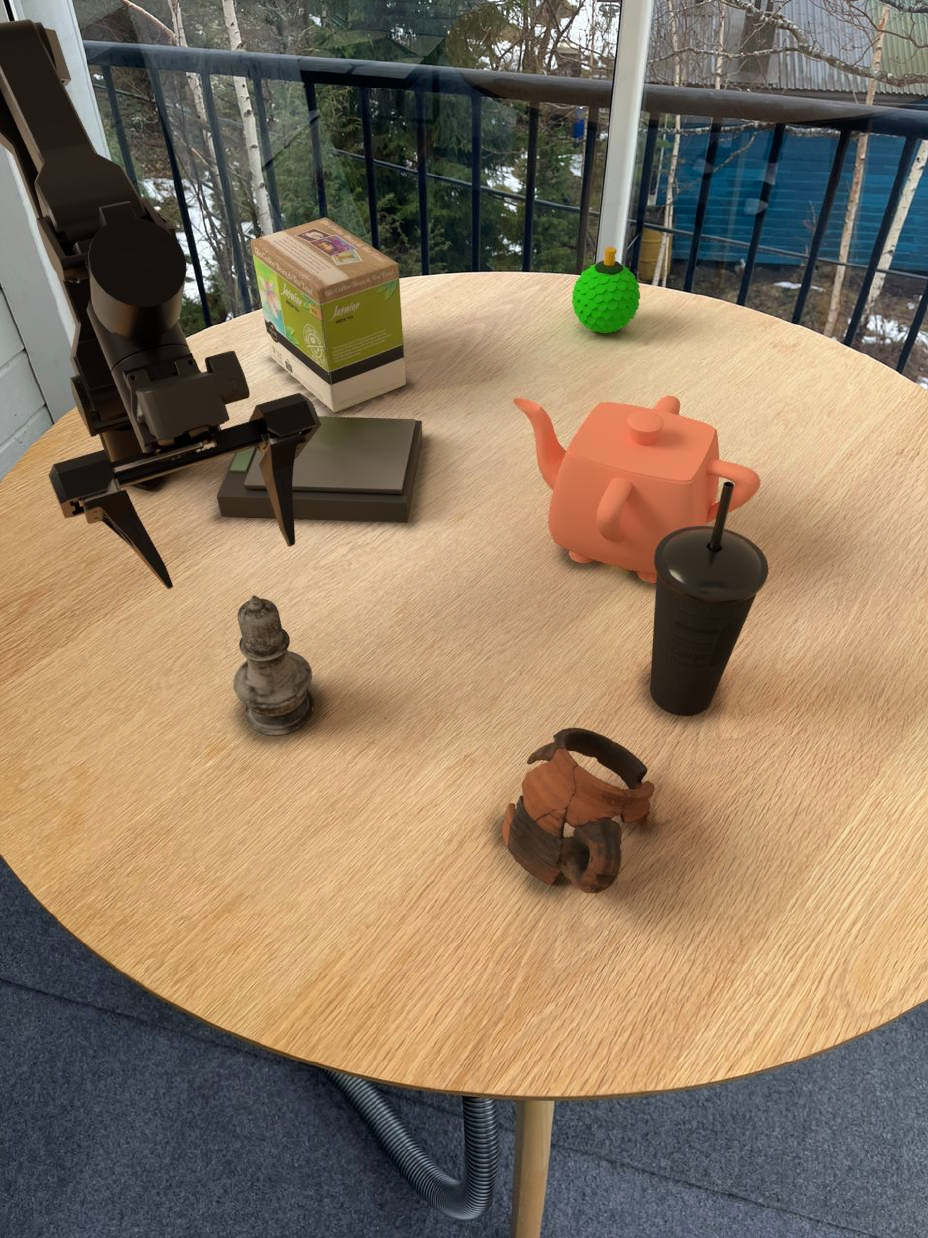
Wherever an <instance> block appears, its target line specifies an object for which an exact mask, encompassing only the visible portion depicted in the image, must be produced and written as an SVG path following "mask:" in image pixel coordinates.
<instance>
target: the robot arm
mask: <svg viewBox="0 0 928 1238" xmlns="http://www.w3.org/2000/svg"><path fill="white" fill-rule="evenodd" d="M71 81H72V78H71V75H70V70H69V68H68V65H67V63H66V59H65V56H64V52H63V50H62V46H61V43H60V40H59V37H58V34H57V31H56V30H55V29H51V28H47V27H44V25H43V23H42V22H41V21H38V22H34V21H32V20H31V19H29V18H27V19H19V20H11V21H4V22H3V21H2V22H0V145H1V146H3V148H4V149H6V150H7V151H8V152H9V153H10V154H11V155H12V157H13V160H14V162H15V165H16V168H17V170H18V173H19V175H20V178H21V182H22V184H23V187H24V190H25V192H26V194H27V197H28V200H29V203H30V205H31V209H32V211H33V214H34V217H35V221H36V226H37V229H38V233H39V236H40V239H41V241H42V245H43V248H44V251H45V253H46V255H47V258H48V260H49V263H50V265H51V267H52V269H53V270H54V272H55V274H56V276H57V278H58V281H59V284H60V286H61V289H62V292H63V294H64V295H63V296H64V297H65V300H66V304H67V305H68V308H69V311H70V313H71V316H72V319H73V322H74V325H75V329H74V334H73V338H72V339H73V340H72V345H71V349H70V356H69V361H70V364H71V366H72V369H73V372H74V374H75V375H74V376H69V382H70V387H71V394H72V398H73V400H74V403H75V406H76V408H77V411H78V414H79V416H80V418H81V420H82V422H83V424H84V426H85V428H86V430H87V432H88V434H89V436H90V438H93V437H97V436H99V440H100V442H101V444H102V448H103V449H100V450H98V451H94V452H90V453H87V454H84V455H81V456H77V457H73V458H69V459H66V460H63V461H60V462H55V463H53V465H52V466H51V469H50V471H49V473H48V479H49V482H50V485H51V487H52V488H51V489H52V491H53V492H54V495H55V498H56V500H57V502H58V505H59V508H60V510H61V512H62V515H63V517H64V519H69V518H76V517H78V516H82V515H84V517H85V521H86V523H87V524H88V525H91V524H95V523H96V524H97V523H99V522H101V523H103V524H105V525H106V527H108V528H109V529H110V530H111V531H112V532H113V533H114V534H116V535H117V536H118V537H119V538H120V539H121V540H122V541H123V542H125V544H127V545H128V546H129V547H130V548H131V549H132V550H133V551H134V553H135V554H136V555H137V556H138V557H139V558H140V560H141V561H142V562H143V563H144V564H145V565H146V567H147V568H148V569H149V570H150V571H151V572H152V574H153V575H154V576H155V577H156V578H157V580H159V581H160V583H161V584H162V585H163V586H164V587H165V588H166V590H170V589H173V588H174V585H173V582H172V579H171V576H170V574H169V571H168V569H167V566H166V564H165V562H164V560H163V559H162V557H161V555H160V553H159V551H158V550H157V547H156V546H155V543H154V542H153V540H152V538H151V536H150V535H149V533H148V531H147V529H146V528H145V526H144V524H143V522H142V520H141V518H140V517H139V514H138V512H137V511H136V508H135V507H134V503H133V502H132V499H131V497H130V495H129V493H128V491H127V489H125V488H126V487H129V486H130V487H131V486H132V487H136V488H138V489H142V490H145V491H147V490H148V491H150V490H153V489H154V488H155V487H156V486H157V485H158V484H160V483H161V482H162V481H163V480H164V479H165V478H166V477H167V476H168V475H170V474H172V473H175V472H179V471H181V470H185V469H188V468H191V467H194V466H197V465H201V464H204V463H207V462H210V461H214V460H217V459H221V458H224V457H227V456H230V455H235V453H237V452H240V451H244V450H247V449H250V448H253V447H256V449H257V450H259V451H261V452H262V453H263V458H262V460H261V462H260V463H259V467H260V470H261V473H262V476H263V479H264V482H265V485H266V488H267V491H268V494H269V497H270V500H271V503H272V507H273V510H274V513H275V516H276V518H275V519H276V522H277V525H278V528H279V530H280V533H281V535H282V537H283V539H284V541H285V543H286V545H287V547H289V548H290V547H294V546H295V544H296V531H295V530H296V529H295V519H294V511H293V497H292V496H293V493H292V481H293V467H294V460H295V459H296V458H297V457H298V456H299V454H300V453H301V451H302V450H303V449H304V447H305V446H306V444H307V443H308V442H309V441H310V439H311V438H312V437H313V435H314V434H315V432H316V431H317V430H318V428H319V427H320V425H321V423H320V420H319V418H318V416H319V415H318V412H317V410H316V407H315V405H314V403H313V402H312V400H311V399H310V398H309V397H307V396H306V395H305V394H302V393H301V392H297V393H293V394H291V395H285V396H283V397H280V398H275V399H273V400H270V401H266V402H263V403H259V404H256V405H255V407H254V409H253V411H252V414H251V415H250V417H251V418H250V417H249V419H250V420H249V419H248V421H245V422H242V423H238V424H237V425H233V426H228V427H226V428H223V429H222V427H221V425H224V424H225V423H227V422H229V421H230V416H229V412H228V409H227V406H226V405H229V404H233V403H236V402H240V401H243V400H248V399H249V398H250V397H251V393H250V387H249V385H248V381H247V378H246V375H245V372H244V369H243V368H242V365H241V363H240V360H239V358H238V356H237V353H236V351H235V350H229V351H225V352H220V353H217V354H213V355H209V356H206V357H205V358H204V363H205V368H206V370H205V371H201V369H200V368H199V365H198V363H197V360H196V359H195V357H194V355H193V353H192V352H191V349H190V346H189V344H188V341H187V339H186V336H185V334H184V332H183V331H184V330H183V328H182V326H181V323H180V321H179V318H180V316H181V312H182V305H183V299H184V291H185V284H186V279H187V278H186V277H187V260H186V256H185V252H184V250H183V247H182V245H181V244H180V243H179V241H178V237H177V232H176V228H175V227H174V226H173V225H172V224H171V222H169V221H168V220H167V219H166V218H165V217H164V216H163V215H162V214H161V213H160V212H159V211H157V210H156V209H155V207H154V206H153V205H152V204H151V202H150V200H149V198H147V196H141V197H140V195H139V193H138V191H137V189H136V188H135V186H134V184H133V182H132V180H131V178H130V177H129V175H128V174H127V171H126V170H125V168H124V167H123V166H122V165H120V164H119V163H116V162H114V161H112V160H110V159H108V158H106V157H104V156H103V155H101V154H99V153H98V151H97V150H96V148H95V146H94V145H93V143H92V139H91V138H90V136H89V134H88V132H87V130H86V128H85V126H84V124H83V122H82V119H81V118H80V116H79V113H78V111H77V109H76V107H75V105H74V103H73V101H72V99H71V97H70V95H69V93H68V90H67V88H66V87H67V86H68V85H69V83H70V82H71ZM212 444H213V445H214V446H210V447H209V448H207V447H206V448H205V446H209V445H212ZM198 450H199V451H198ZM123 488H124V489H123Z"/></svg>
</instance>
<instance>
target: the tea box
mask: <svg viewBox="0 0 928 1238" xmlns="http://www.w3.org/2000/svg"><path fill="white" fill-rule="evenodd" d="M250 248H251V253H252V260H253V265H254V270H255V274H256V280H257V287H258V291H259V292H258V293H259V296H260V300H261V308H262V314H263V320H264V325H265V329H266V336H267V342H268V347H269V351H270V357H271V358H272V360H273V361H275V362H276V363H277V364H278V365H279V366H280V367H282V368H283V369H284V370H285V371H287V373H289V374H290V375H291V376H292V377H293V378H294V379H296V381H298V382H299V383H300V384H301V385H302V386H303V387H304V388H305V389H307V391H309V392H310V393H312V395H314V396H315V397H316V398H317V399H318V401H320V402H321V403H323V404H324V405H325V406H326V407H327V408H328V409H329V410H331V411H332V412H333V413H337V412H340V411H343V410H346V409H348V408H351V407H354V406H356V405H358V404H361V403H363V402H366V401H368V400H371V399H374V398H376V397H379V396H381V395H384V394H386V393H389V392H392V391H394V390H396V389H399V388H402V387H403V386H405V385H406V384H407V379H406V362H405V361H406V360H405V348H404V334H403V333H404V331H403V318H402V317H403V315H402V302H401V284H400V275H399V274H400V273H399V272H400V271H399V263H398V262H396V261H395V260H393V258H390V257H388V255H386V254H384V253H382V252H380V251H379V250H378V249H376V248H375V247H373V246H371V245H369V243H367V242H365V241H364V240H362V239H361V238H359V237H357V236H356V235H354V234H353V233H351V232H350V231H348V230H346V229H345V228H343V227H342V226H340V225H339V224H338V223H336V222H334V221H332V220H331V219H330V218H328V217H323V218H320V219H316V220H313V221H309V222H307V223H303V224H299V225H297V226H293V227H290V228H287V229H283V230H280V231H276V232H274V233H270V234H267V235H263V236H260V237H257V238H254V239H253V238H250Z"/></svg>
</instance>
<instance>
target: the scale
mask: <svg viewBox="0 0 928 1238" xmlns="http://www.w3.org/2000/svg"><path fill="white" fill-rule="evenodd" d="M250 418H251V416H250V417H249V419H248V421H249V420H250ZM415 420H416V425H415V430H414V435H413V440H412V446H411V451H410V456H409V461H408V466H407V471H406V476H405V481H404V487H403V492H402V494H387V493H358V492H329V491H299V490H292V493H293V496H292V497H293V511H294V520H319V521H320V520H321V521H322V520H323V521H346V522H347V521H348V522H349V521H350V522H373V523H375V522H376V523H377V522H378V523H405V524H408V522H409V519H410V518H409V517H410V512H411V506H412V502H413V496H414V490H415V485H416V478H417V473H418V469H419V464H420V456H421V453H422V447H423V441H424V439H423V438H424V437H423V421H422V420H419V419H415ZM256 452H257V449H256V447H253V448H250V449H247V450H244V451H240V452H237V453H234V454H233V457H232V460H231V462H230V464H229V467H228V469H227V471H226V474H225V475H224V477H223V481H222V483H221V485H220V487H219V491H218V492H217V495H216V499H217V504H218V508H219V512H220V516H221V517H233V518H234V517H237V518H238V517H239V518H261V519H262V518H264V519H265V518H266V519H276V516H275V513H274V510H273V507H272V503H271V500H270V497H269V494H268V491H267V489H245V487H244V482H245V480H246V477H247V475H248V472H249V470H250V467H251V465H252V462H253V460H254V457H255V455H256Z"/></svg>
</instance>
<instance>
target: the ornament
mask: <svg viewBox="0 0 928 1238" xmlns="http://www.w3.org/2000/svg"><path fill="white" fill-rule="evenodd" d="M617 251H618V249H616V248H615V247H609V246H608V247H605V248H604V260H600V261H598V262H597V263H595V264H592V265H590V266H589V268H587V269H585V270H584V271H582V272H581V273H580V276H579V277H578V278H577V279H576V281H575V283H574V286H573V290H572V292H571V293H572V294H571V296H572V300H571V304H572V308H573V312H574V314H575V316H576V317H577V319H578V321H579V323H581V324H582V325H583V326H584V327H585V328H586V329H589V330H590V331H592V332H595V333H600V334H609V333H613V332H617V331H619V330H620V329H622V328H625V327H626V326H628V324H629V323H630V322H631V320H634V317H635V316H636V313H637V311H638V310H639V308H640V307H639V306H640V299H641V292H640V288H641V287H640V284H639V282H638V281H637V279H636V276H635V274H634V273H632V272H631V271H630V270H629V268H628V267H626V266H624V265H623V264H622V263H620V262H619V261H617V260H616V256H615V255H616V254H617Z"/></svg>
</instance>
